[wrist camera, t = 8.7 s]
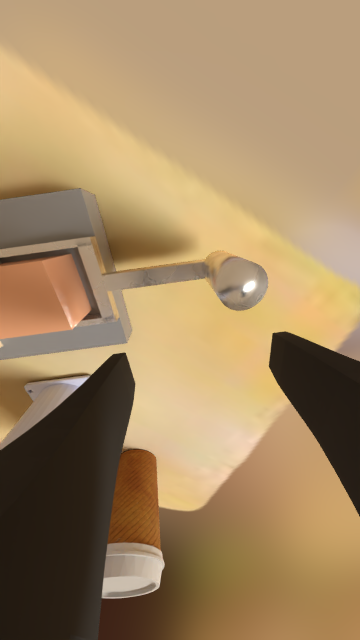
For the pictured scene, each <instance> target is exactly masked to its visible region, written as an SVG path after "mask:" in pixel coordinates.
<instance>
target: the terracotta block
mask: <svg viewBox="0 0 360 640" xmlns="http://www.w3.org/2000/svg"><path fill="white" fill-rule="evenodd" d="M91 310H92V308H91V306H90V303H89V300H88V298H87V295H86V292H85V289H84V287H83V284H82V281H81V279H80V276H79V273H78V270H77V268H76V265H75V262H74V260H73V257H72V254H65V255H58V256H51V257H43V258H36V259H29V260H22V261H15V262H7V263H2V264H0V339H6V338H13V337H21V336H28V335H35V334H43V333H50V332H58V331H65V330H72V329H73V328H74V327H75V326H76V325H77V324H78V323H79V322H80V321H81V320H82V319H83V318H84V317H85V316H86V315H87V314H88V313H89V312H90V311H91Z"/></svg>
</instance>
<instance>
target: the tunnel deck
mask: <svg viewBox="0 0 360 640" xmlns="http://www.w3.org/2000/svg"><path fill="white" fill-rule="evenodd" d="M94 236H95V237H96V240H97V244H98V247H99V250H100V254H101V257H102V260H103V264H104V267H105V270H106V273H108V272H115V271H116V269H115V266H114V262H113V259H112V255H111V251H110V248H109V244H108V241H107V237H106V233H105V230H104V226H103V222H102V219H101V215H100V212H99V208H98V204H97V201H96V197H95V195H94V194H92V193H90V192H88V191H85V190H83V189H81V188H79V189H72V190H65V191H58V192H51V193H44V194H37V195H30V196H23V197H16V198H9V199H2V200H0V249H6V248H13V247H21V246H28V245H35V244H42V243H49V242H56V241H64V240H71V239H78V238H85V237H94ZM65 254H72V257H73V260H74V262H75V265H76V268H77V270H78V273H79V276H80V279H81V281H82V284H83V287H84V289H85V292H86V295H87V298H88V300H89V303H90V306H91V308H92V310H91V311H90V312H89V313H88V314H87V315H94V314H101V313H100V310H99V307H98V304H97V302H96V299H95V296H94V293H93V290H92V287H91V284H90V281H89V279H88V276H87V273H86V270H85V267H84V264H83V261H82V258H81V256H80V253H79V250H78V247H74V248H67V249H60V250H53V251H46V252H38V253H31V254H24V255H17V256H10V257H2V258H0V260H1V262H2V263H7V262H15V261H22V260H29V259H36V258H43V257H51V256H58V255H65ZM112 294H113V297H114V300H115V303H116V307H117V310H118V313H119V318H118V320H117V322H111V323H104V324H96V325H89V326H82V327H74V328H73V329H72V330H65V331H58V332H50V333H43V334H35V335H28V336H21V337H13V338H6V339H0V360H4V359H11V358H19V357H26V356H34V355H41V354H49V353H56V352H64V351H72V350H79V349H87V348H94V347H102V346H109V345H117V344H124V343H128V340H129V337H130V335H131V332H132V327H131V324H130V320H129V316H128V313H127V309H126V306H125V302H124V298H123V295H122V291H121V290H115V291H112Z"/></svg>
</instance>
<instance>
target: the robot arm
mask: <svg viewBox="0 0 360 640" xmlns="http://www.w3.org/2000/svg"><path fill="white" fill-rule="evenodd" d="M269 367H270V369H271V371H272V373H273V375H274V377H275V379H276V381H277V383H278V385H279V386H280V388H281V389H282V390H283V392H284V393H285V395H286V396H287V398H288V399H289V401H290V402H291V403H292V405H293V406H294V408H295V409H296V410H297V411H298V413H299V415H300V416H301V417H302V419H303V420H304V421H305V423H306V424H307V426H308V427H309V429H310V430H311V432H312V433H313V435H314V436H315V438H316V439H317V441H318V442H319V444H320V446H321V447H322V449H323V451H324V453H325V454H326V456H327V458H328V460H329V461H330V463H331V465H332V466H333V468H334V470H335V472H336V473H337V475H338V477H339V478H340V481H341V483H342V484H343V486H344V488H345V490H346V492H347V493H348V495H349V497H350V499H351V501H352V502H353V504H354V506H355V508H356V510H357V512H358V514H359V516H360V362H359V361H357V360H354V359H352V358H349V357H347V356H344V355H342V354H339V353H337V352H334V351H332V350H330V349H327V348H325V347H323V346H320V345H318V344H315V343H313V342H311V341H308V340H306V339H304V338H301V337H299V336H296V335H294V334H291V333H288V332H278V333H273V336H272V344H271V353H270V361H269ZM24 388H25V390H26V392H27V393H28V394H29V396H30V397H31V399H32V400H33V403H32V404H31V405H30V407H29V408H28V409H27V410H26V412H25V413H24V414H23V415H22V417H21V418H20V419H19V420H18V422H17V423H16V424H15V425H14V427H13V428H12V429H11V430H10V432H9V433H8V434H7V435H6V437H5V438H4V439H3V441H2V442H1V443H0V640H98V630H99V619H100V609H101V599H102V589H103V579H104V569H105V561H106V552H107V544H108V535H109V527H110V520H111V513H112V505H113V498H114V491H115V485H116V478H117V472H118V466H119V461H120V456H121V452H122V447H123V443H124V439H125V435H126V431H127V427H128V423H129V419H130V415H131V410H132V406H133V400H134V392H135V381H134V378H133V375H132V372H131V368H130V365H129V362H128V359H127V356H126V353H119V354H113V355H112V356H111V357H110V358H108V359H107V360H106V361H105V362H104V363H103V364H102V365H101V366H100V367H99V368H98V369H97V370H96V371H95V372H94V373H93V374H92V375H91V376H90V375H86V376H78V377H70V378H63V379H55V380H47V381H40V382H32V383H27V384H26V385H25V386H24Z"/></svg>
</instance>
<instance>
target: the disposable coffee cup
mask: <svg viewBox="0 0 360 640" xmlns="http://www.w3.org/2000/svg"><path fill="white" fill-rule="evenodd" d="M158 507H159V506H158V487H157V467H156V457H155V456H154V455H153V454H152V453H150V452H148V451H145V450H136V449H135V450H129V451H126V452H123V453H122V454H121V456H120V461H119V466H118V472H117V478H116V485H115V491H114V498H113V505H112V513H111V520H110V527H109V535H108V544H107V552H106V561H105V569H104V579H103V589H102V598H125V597H132V596H138V595H143V594H147V593H150V592H153V591H155V590H156V589H158V587H159V585H160V578H161V572H162V570H163V568H164V561H163V559H162V552H161V550H160V529H159V509H158Z"/></svg>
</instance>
